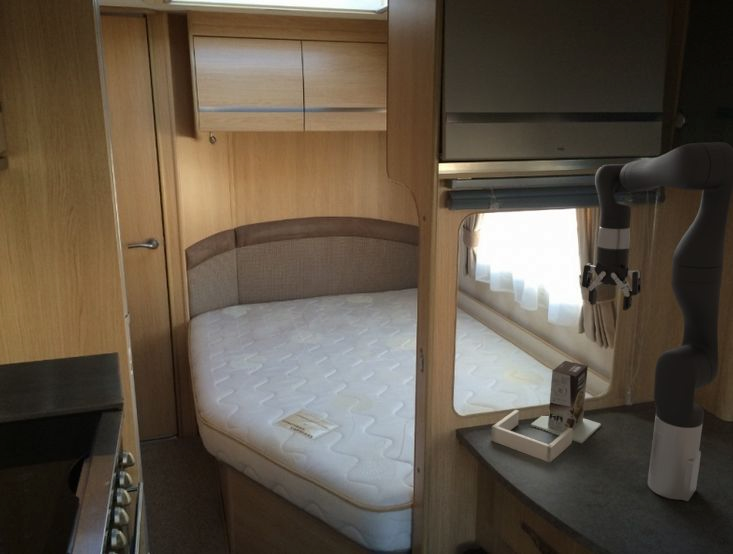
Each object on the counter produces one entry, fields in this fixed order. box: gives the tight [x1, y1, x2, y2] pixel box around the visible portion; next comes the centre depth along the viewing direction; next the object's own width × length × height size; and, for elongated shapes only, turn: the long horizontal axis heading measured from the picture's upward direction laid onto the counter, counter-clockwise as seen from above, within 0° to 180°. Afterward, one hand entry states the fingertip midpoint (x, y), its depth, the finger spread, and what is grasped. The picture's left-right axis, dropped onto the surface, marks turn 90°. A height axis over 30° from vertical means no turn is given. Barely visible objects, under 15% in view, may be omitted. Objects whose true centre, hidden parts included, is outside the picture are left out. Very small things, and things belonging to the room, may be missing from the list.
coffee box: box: [548, 360, 589, 432], centre depth 170 cm, size 9×6×16 cm
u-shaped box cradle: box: [490, 409, 573, 463], centre depth 164 cm, size 16×12×4 cm
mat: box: [530, 415, 602, 444], centre depth 173 cm, size 14×12×1 cm
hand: (609, 307), depth 167 cm, fingers open, 8 cm apart
